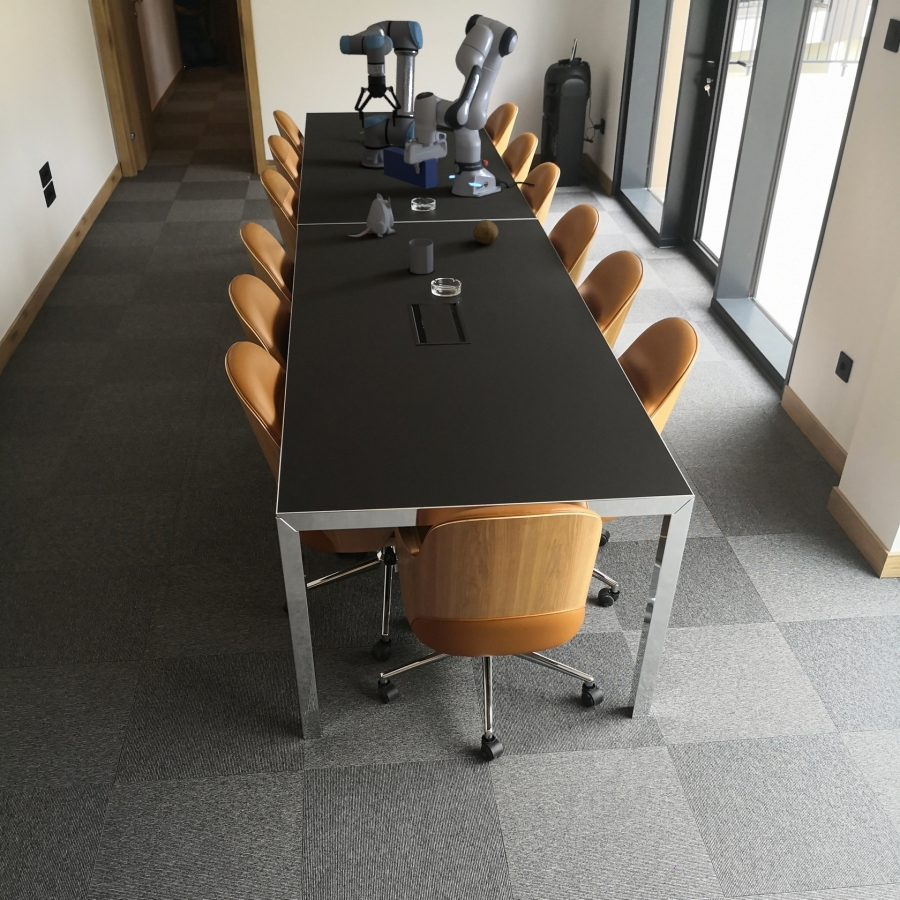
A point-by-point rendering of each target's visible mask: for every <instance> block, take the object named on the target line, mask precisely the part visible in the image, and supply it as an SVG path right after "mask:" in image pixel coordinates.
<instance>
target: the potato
mask: <svg viewBox="0 0 900 900" xmlns="http://www.w3.org/2000/svg"><path fill="white" fill-rule="evenodd" d="M472 232H473V233H472V234H473V238H474V239H475V241H477V242H478V243H479V244H482V245H490V244H491V243H493V242H495V241H496V240H497V238H498V235H499V228H498V226H497V225H496V224H495V223H494V222H492V221H491V220H490V219H481V220H480V221H478V222H477V223H476V224H475V225H474V228H473V231H472Z"/></svg>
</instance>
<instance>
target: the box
mask: <svg viewBox="0 0 900 900" xmlns="http://www.w3.org/2000/svg"><path fill="white" fill-rule="evenodd" d="M404 150H405V148H401V147H398V146H389V148H384V149H383V160H384V168H383V175H384V176H387V177H390V178H393V179H395V180H398V181H402V182H404V183H408V184H411V185H414V186H417V187H420V188H423V189H430V188H435V187H438V161H437V159H435V158H433V159H428V160H424V161H422V162H419V165H418V166H419V168H420V169H421V173H419V174H417V173H416V168H415V167H414V165H413V164H407V163H405V161H404Z"/></svg>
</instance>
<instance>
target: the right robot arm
mask: <svg viewBox="0 0 900 900" xmlns="http://www.w3.org/2000/svg"><path fill="white" fill-rule="evenodd" d="M464 35H465V37H464V39H463V40H462V42H461V44H460V46H459V48H458V50H457V51H456V55H455V58H454V61H455V66H456V68H457V70H458V71H459V72H460V73H461V75H463V76H464V82H463V85H462V88H461V90H460V92H459V95H458V97H457V98H456V99H454V100H449V99H445V98H441V97H439V96H437V95H436V94H435V93H434V92H432V91H423V92H420V93H417V95H416V96H415V97H414V100H413V112H414V120H415V126H414V139H410V140H408V141H407V142H408V143H407V142H406V143H405V145H404V149H405V150H404V161H405V163H407V164H413V165H414V167H415V168H416V173H417V174H419V173H421V169H420V168H419V166H418V165H419V162H422V161H424V160H428V159H433V158H435V159H437V162H439V161H438V160H439V159H442V158H446V156H447V155H448V142H447V140H446V139H447V133H445V132H442V131H438V130H437V125H440V126H443V127H447V128H448V129H449V128H450V129H451V130H453V133H454V142H455V143H454V144H455V146H454V147H455V149H454V150H455V156H454V157H455V158H454V165H453V166H454V167H453V170H454V175H449V179H453V184H452V189H451V193H452V194H453V195H457V196H461V197H472V198H473V197H475V198H480V197H484V196H487V195H491V194H495V193H498V192H501V191H502V188H501V184H504V185H505V186H506V187H507V188H508V189H509V188H512V187H514V185H526V186H531V187H535V186H536V184H535V183H530V182H524V181H514V182H512V183H511V184H510V185H509V184H508V182H507V181H505V180H501V179H499V178H498V177H495V175H494V174H493V173H491V172H490V171H489V170H488V169H486V168H485V167H484V166H488V165H489V161H488V160H485V159H481V153H482V152H481V151H482V150H481V148H482V147H481V146H482V144H481V143H482V142H481V137H480V134H479V130H481V129H483V128H484V127H485V126H486V125H487V121H488V109H489V103H490V98H491V94H492V90H493V88H494V85H495V83H496V80H497V77H498V74H499V72H500V69H501V66H502V63H503V58H504V57H505V56H508V55H510V54H511V53H513V51H514V50H515V48H516V46H517V43H518V37H519V36H518V32H517V31H516V30H515V28H513V27H512V26H508V25H507V24H505V23H503V22H502V21H499V20H498V19H493V18H491V17H487V16H484V15H483V14H480V13H479V14H478V13H475V14H473V15H470V17H469V18H468V20H467V22H466V24H465V29H464Z"/></svg>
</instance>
